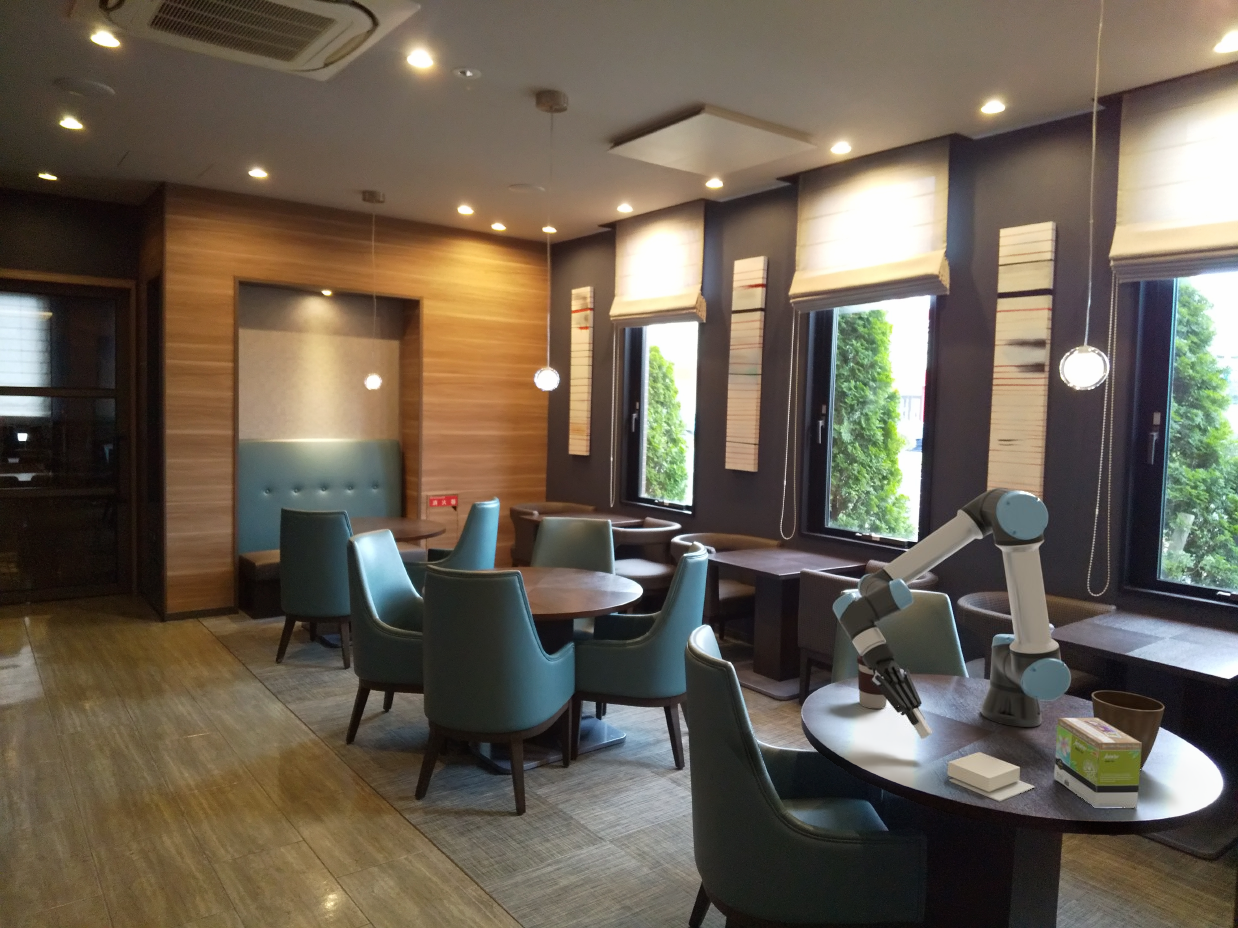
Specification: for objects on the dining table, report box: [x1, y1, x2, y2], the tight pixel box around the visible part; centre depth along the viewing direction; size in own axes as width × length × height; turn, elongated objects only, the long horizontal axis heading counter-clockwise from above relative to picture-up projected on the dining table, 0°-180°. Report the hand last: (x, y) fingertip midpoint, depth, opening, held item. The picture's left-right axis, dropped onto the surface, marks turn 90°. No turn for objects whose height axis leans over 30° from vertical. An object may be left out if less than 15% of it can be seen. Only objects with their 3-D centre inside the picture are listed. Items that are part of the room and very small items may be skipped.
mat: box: [949, 777, 1036, 803], centre depth 189 cm, size 14×12×1 cm
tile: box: [947, 751, 1021, 792], centre depth 190 cm, size 12×3×10 cm
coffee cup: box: [856, 654, 888, 710], centre depth 240 cm, size 10×10×15 cm
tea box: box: [1053, 717, 1142, 809], centre depth 185 cm, size 15×10×15 cm
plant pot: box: [1091, 690, 1165, 770], centre depth 202 cm, size 15×15×16 cm
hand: (927, 735), depth 202 cm, fingers closed
